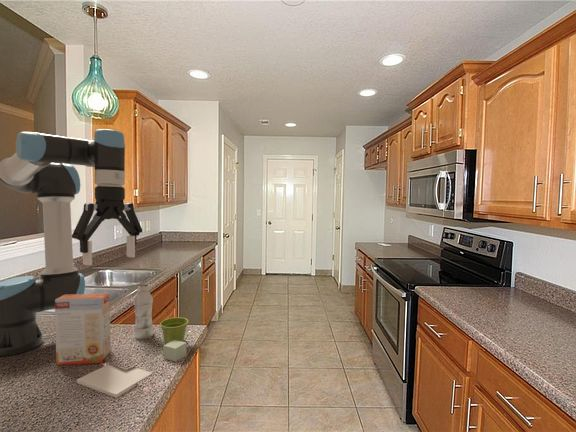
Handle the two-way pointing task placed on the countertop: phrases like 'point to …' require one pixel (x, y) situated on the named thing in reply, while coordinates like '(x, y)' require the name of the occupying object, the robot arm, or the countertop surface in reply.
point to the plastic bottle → (143, 313)
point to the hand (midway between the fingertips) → (110, 260)
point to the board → (113, 379)
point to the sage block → (174, 350)
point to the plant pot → (174, 329)
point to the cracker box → (82, 328)
